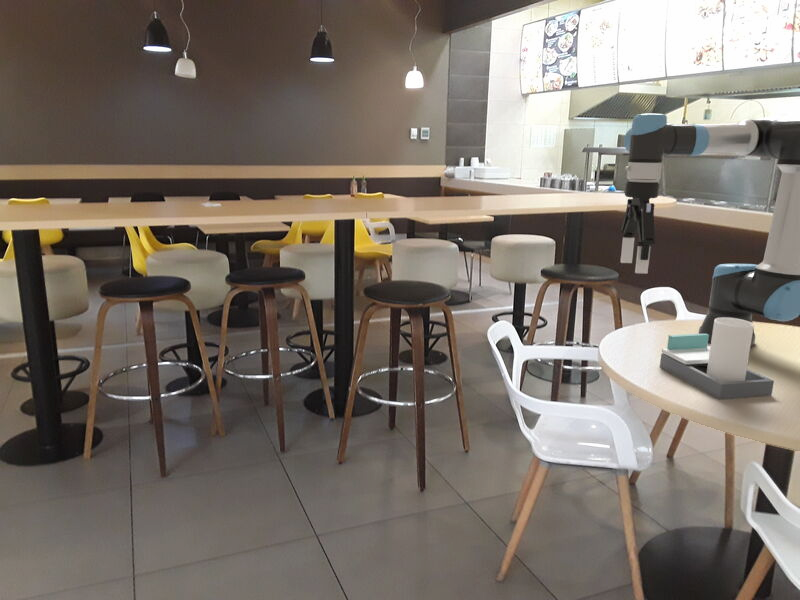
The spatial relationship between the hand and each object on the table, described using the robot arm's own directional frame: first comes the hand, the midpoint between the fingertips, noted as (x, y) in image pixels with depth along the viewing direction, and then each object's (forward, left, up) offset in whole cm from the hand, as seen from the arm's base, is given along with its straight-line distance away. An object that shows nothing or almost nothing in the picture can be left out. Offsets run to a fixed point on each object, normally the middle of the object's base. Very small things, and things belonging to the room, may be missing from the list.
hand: (633, 267), depth 155 cm
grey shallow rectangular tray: (-17, +12, -26) cm, 34 cm away
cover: (-17, +6, -22) cm, 29 cm away
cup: (-17, +16, -26) cm, 35 cm away
